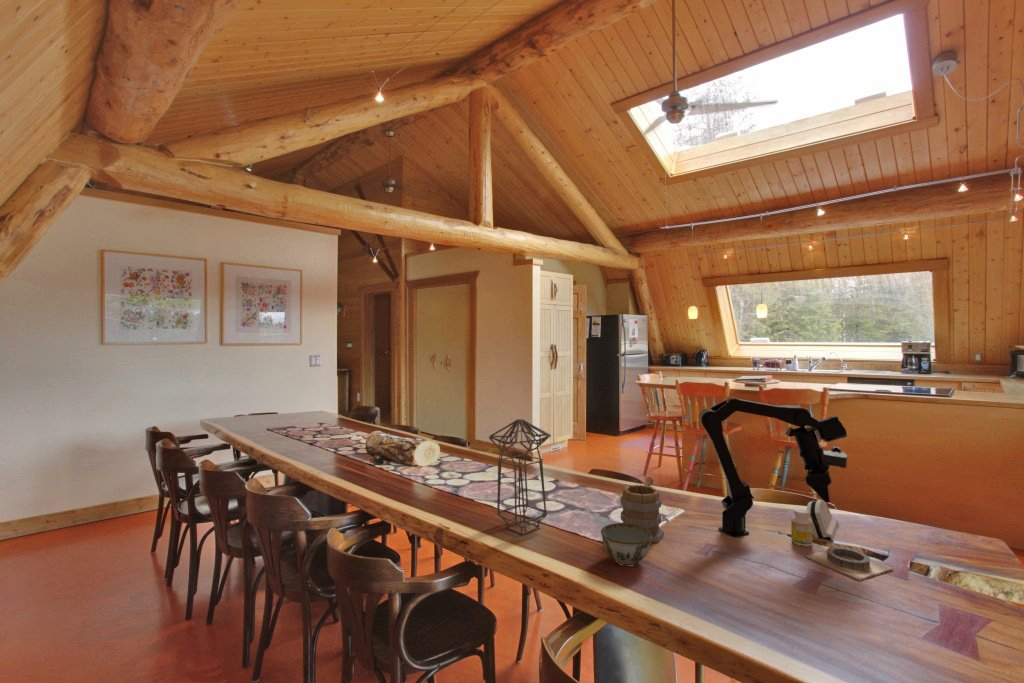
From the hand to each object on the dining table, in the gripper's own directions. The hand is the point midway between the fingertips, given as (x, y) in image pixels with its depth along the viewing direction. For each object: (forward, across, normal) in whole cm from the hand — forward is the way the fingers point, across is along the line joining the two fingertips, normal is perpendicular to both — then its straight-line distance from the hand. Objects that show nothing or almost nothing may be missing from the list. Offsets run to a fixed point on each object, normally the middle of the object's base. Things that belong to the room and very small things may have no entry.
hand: (827, 496), depth 147 cm
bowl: (-6, -46, +48) cm, 66 cm away
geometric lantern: (-17, -40, +83) cm, 94 cm away
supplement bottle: (+10, -8, +10) cm, 16 cm away
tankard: (-4, -22, +50) cm, 55 cm away
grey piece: (+13, +7, +5) cm, 16 cm away
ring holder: (+12, -16, 0) cm, 21 cm away
